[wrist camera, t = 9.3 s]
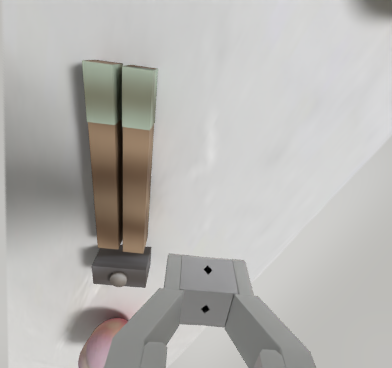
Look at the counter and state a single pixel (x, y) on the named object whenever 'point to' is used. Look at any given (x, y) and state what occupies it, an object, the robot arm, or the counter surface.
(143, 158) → the tongs arm
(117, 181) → the tongs base
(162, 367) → the robot arm
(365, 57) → the counter surface
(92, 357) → the decorative fruit
